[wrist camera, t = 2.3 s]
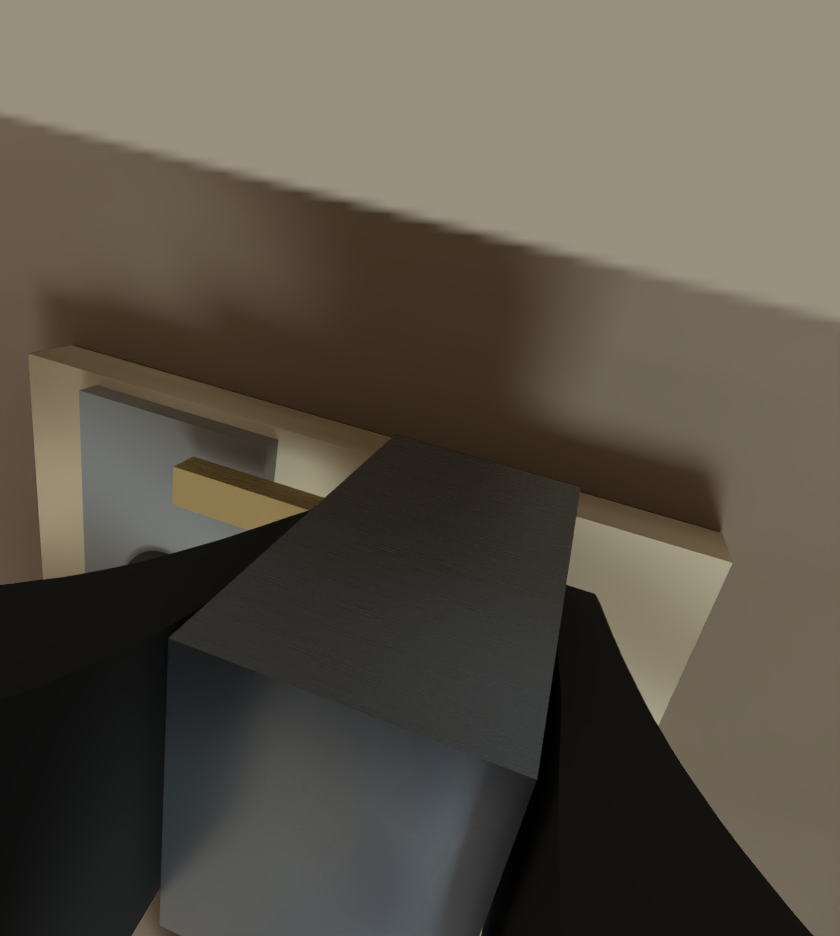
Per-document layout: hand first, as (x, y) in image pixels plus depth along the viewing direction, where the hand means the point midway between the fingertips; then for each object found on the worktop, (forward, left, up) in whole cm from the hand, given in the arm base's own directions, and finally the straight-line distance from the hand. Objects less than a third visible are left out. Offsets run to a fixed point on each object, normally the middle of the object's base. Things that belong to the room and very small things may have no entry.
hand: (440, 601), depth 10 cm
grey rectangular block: (-1, +1, -1) cm, 2 cm away
